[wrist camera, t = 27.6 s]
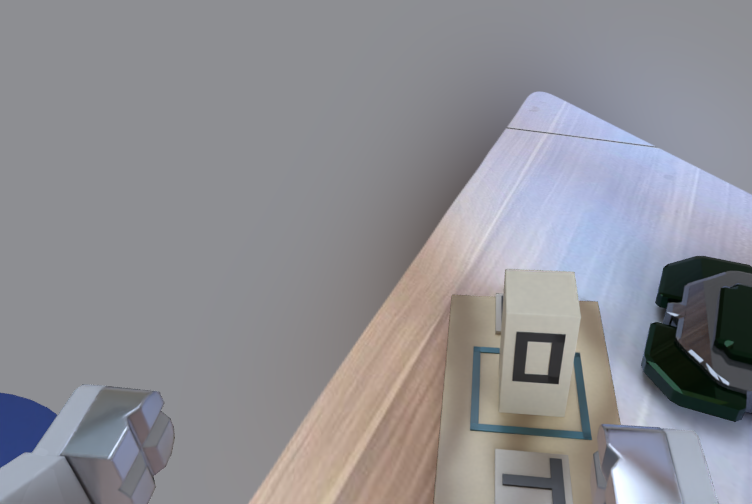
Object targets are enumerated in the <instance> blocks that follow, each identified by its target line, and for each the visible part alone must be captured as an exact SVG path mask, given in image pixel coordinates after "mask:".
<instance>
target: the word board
mask: <svg viewBox="0 0 752 504" xmlns="http://www.w3.org/2000/svg"><path fill="white" fill-rule="evenodd" d="M503 296H504V294H500V293H496V297H490V296H469V295H452V297H451V308H450V320H449V331H448V342H447V354H446V365H445V376H444V388H443V399H442V410H441V422H440V433H439V444H438V456H437V467H436V478H435V490H434V501H433V504H592V499H591V487H590V475H591V463H592V457H593V453H595V452H596V451H598V444H597V433H598V429H599V427H600V425H601V424H611V425H620V419H619V414H618V408H617V403H616V397H615V392H614V387H613V381H612V376H611V370H610V365H609V360H608V354H607V349H606V343H605V338H604V333H603V327H602V322H601V316H600V311H599V306H598V302H595V301H579V307H580V314H581V320H580V326H579V332H578V338H577V344H576V350H575V356H574V362H573V368H572V374H571V380H570V387H569V393H568V399H567V405H566V411H565V416H564V417H555V416H542V415H529V414H516V413H503V412H499V354H500V340H501V325H502V311H503Z"/></svg>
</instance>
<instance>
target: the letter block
mask: <svg viewBox="0 0 752 504" xmlns="http://www.w3.org/2000/svg"><path fill="white" fill-rule="evenodd" d="M580 320H581V314H580V307H579V300H578V294H577V287H576V280H575V273H574V272H567V271H543V270H519V269H506V270H505V281H504V296H503V311H502V325H501V340H500V354H499V412H503V413H516V414H529V415H542V416H555V417H564V416H565V411H566V405H567V399H568V393H569V387H570V380H571V374H572V368H573V362H574V356H575V350H576V344H577V338H578V332H579V326H580Z"/></svg>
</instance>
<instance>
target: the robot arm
mask: <svg viewBox="0 0 752 504" xmlns="http://www.w3.org/2000/svg"><path fill="white" fill-rule="evenodd" d="M163 405H164V401H163V398H162V396H161V394H160V392H157V391H149V390H140V389H130V388H120V387H111V386H100V385H88V384H83V385H81V386H80V387H79V388H77V389H76V390H75V391H74V392H73V394H72V395H71V397H70V398H69V399H68V401H67V402H66V404H65V405H64V407H63V408H62V410H61V411H60V413H59V414H58V416H57V417H56V418H55V420H54V421H53V423H52V424H51V426H50V427H49V429H48V430H47V432H46V433H45V434H44V436H43V437H42V439H41V440H40V442H39V443H38V445H37V446H36V448H35V449H34V451H33V452H32V453H23V454H22V455H20V456H19V457H17V458H16V459H14V460H13V461H11V462H9V463H8V464H6V465H5V466H3V467H2V468H0V504H148V503H149V501H150V499H151V496H152V494H153V492H154V490H155V488H156V486H155V482H154V477H153V476H154V475H156V474H157V473H158V472H159V471H160V470H162V469H163V468H165V467H166V465H167V463H168V460H169V458H170V456H171V454H172V449H173V444H174V439H175V437H174V426H173V424H172V421H171V419H170V418H169V417H168V416H167V415H166V414H164V413H163V412H162V411H161V409H162V407H163ZM597 444H598V451H596V452H595V453H593V457H592V463H591V475H590V487H591V499H592V504H719V502H718V499H717V496H716V492H715V489H714V486H713V483H712V479H711V476H710V473H709V469H708V466H707V463H706V460H705V456H704V453H703V450H702V446H701V443H700V440H699V437H698V435H697V434H696V433H695V431H691V430H677V429H664V428H663V429H661V428H659V427H643V426H627V425H611V424H601V425H600V427H599V429H598V433H597Z"/></svg>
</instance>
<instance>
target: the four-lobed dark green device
mask: <svg viewBox="0 0 752 504" xmlns="http://www.w3.org/2000/svg"><path fill="white" fill-rule="evenodd" d="M655 303H656V304H657V305H658V306H659V307H661V308H666V313H665V316H664V320H663V323H659V322H655V323H652V324H651V325H650V328H649V332H648V337H647V341H646V345H645V350H644V354H643V359H642V363H641V366H642V369H643V372H644V373H645V374H646V375H647V376H648V377H649V378H650V379H651V380H652V381H653V382H654V384H655V385H656V386H657V387H658V388H659V389H660V390H661V391H662V392H663V393H664V394H665V395H666V397H667V398H668V399H669V400H670V401H672V402H674V403H675V404H677V405H679V406H682V407H685V408H688V409H692V410H695V411H699V412H702V413H706V414H709V415H713V416H716V417H720V418H723V419H727V420H730V421H734V422H736V421H739V420H741V419H742V417H743V415H744V412H749V413H751V414H752V267H751V266H750V265H746V264H741V263H736V262H731V261H726V260H721V259H716V258H711V257H706V256H695V257H691V258H688V259H684V260H681V261H677V262H674V263H670V264H667V265H666V266H665V267H664V268H663V271H662V275H661V279H660V284H659V288H658V293H657V297H656V302H655Z"/></svg>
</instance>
